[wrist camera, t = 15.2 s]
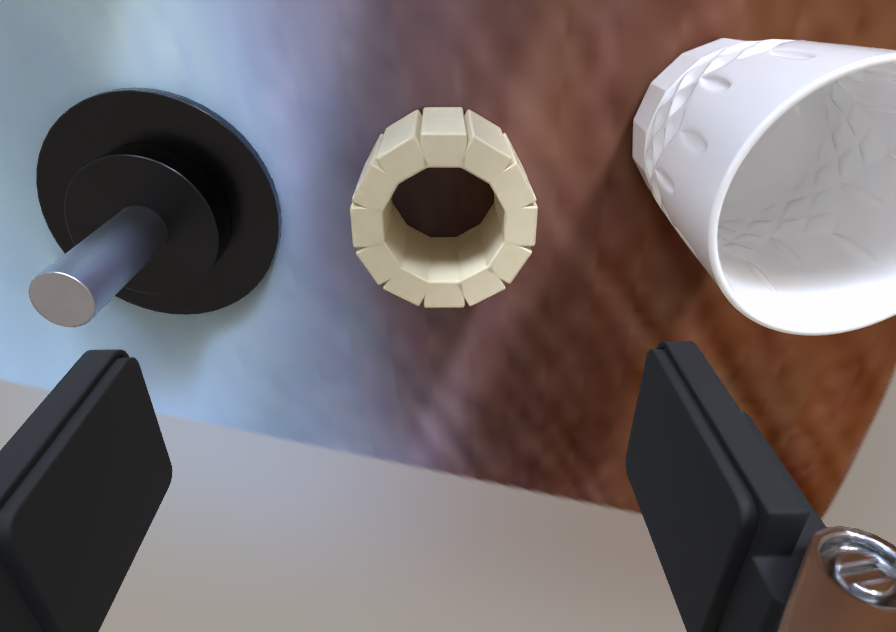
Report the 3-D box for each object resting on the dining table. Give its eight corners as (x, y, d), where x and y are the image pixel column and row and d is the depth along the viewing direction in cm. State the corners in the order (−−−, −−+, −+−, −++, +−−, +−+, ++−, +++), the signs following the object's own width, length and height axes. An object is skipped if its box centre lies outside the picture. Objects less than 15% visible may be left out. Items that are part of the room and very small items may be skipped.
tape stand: (8, 87, 24) (-182, 140, 17) (263, 87, 24) (187, 139, 17) (84, 309, 29) (-36, 425, 22) (295, 308, 29) (246, 422, 22)
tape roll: (358, 106, 24) (343, 133, 20) (527, 106, 24) (544, 133, 21) (369, 260, 28) (358, 309, 24) (517, 260, 28) (530, 308, 24)
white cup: (583, 98, 24) (663, 170, 16) (775, -26, 22) (990, -21, 14) (661, 249, 28) (763, 377, 19) (835, 154, 26) (1039, 249, 17)
